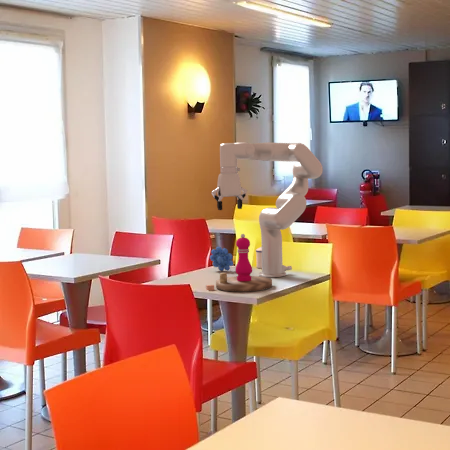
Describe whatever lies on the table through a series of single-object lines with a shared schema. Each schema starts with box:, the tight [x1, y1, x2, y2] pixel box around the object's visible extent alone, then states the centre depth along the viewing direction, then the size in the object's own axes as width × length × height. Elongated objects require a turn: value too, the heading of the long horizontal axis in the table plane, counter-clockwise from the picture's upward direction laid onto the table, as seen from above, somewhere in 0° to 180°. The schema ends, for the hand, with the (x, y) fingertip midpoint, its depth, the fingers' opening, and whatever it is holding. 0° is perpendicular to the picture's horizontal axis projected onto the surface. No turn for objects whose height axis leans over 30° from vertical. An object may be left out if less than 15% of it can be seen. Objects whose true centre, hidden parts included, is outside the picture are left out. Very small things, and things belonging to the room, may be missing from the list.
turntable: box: [215, 272, 273, 292], centre depth 341 cm, size 24×24×6 cm
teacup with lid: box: [255, 246, 262, 270], centre depth 396 cm, size 12×9×12 cm
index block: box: [205, 284, 215, 291], centre depth 337 cm, size 3×2×2 cm, turn 106°
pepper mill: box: [234, 233, 253, 281], centre depth 340 cm, size 7×7×20 cm
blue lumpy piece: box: [209, 246, 234, 272], centre depth 387 cm, size 12×7×12 cm, turn 75°
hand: (229, 209), depth 356 cm, fingers open, 9 cm apart
